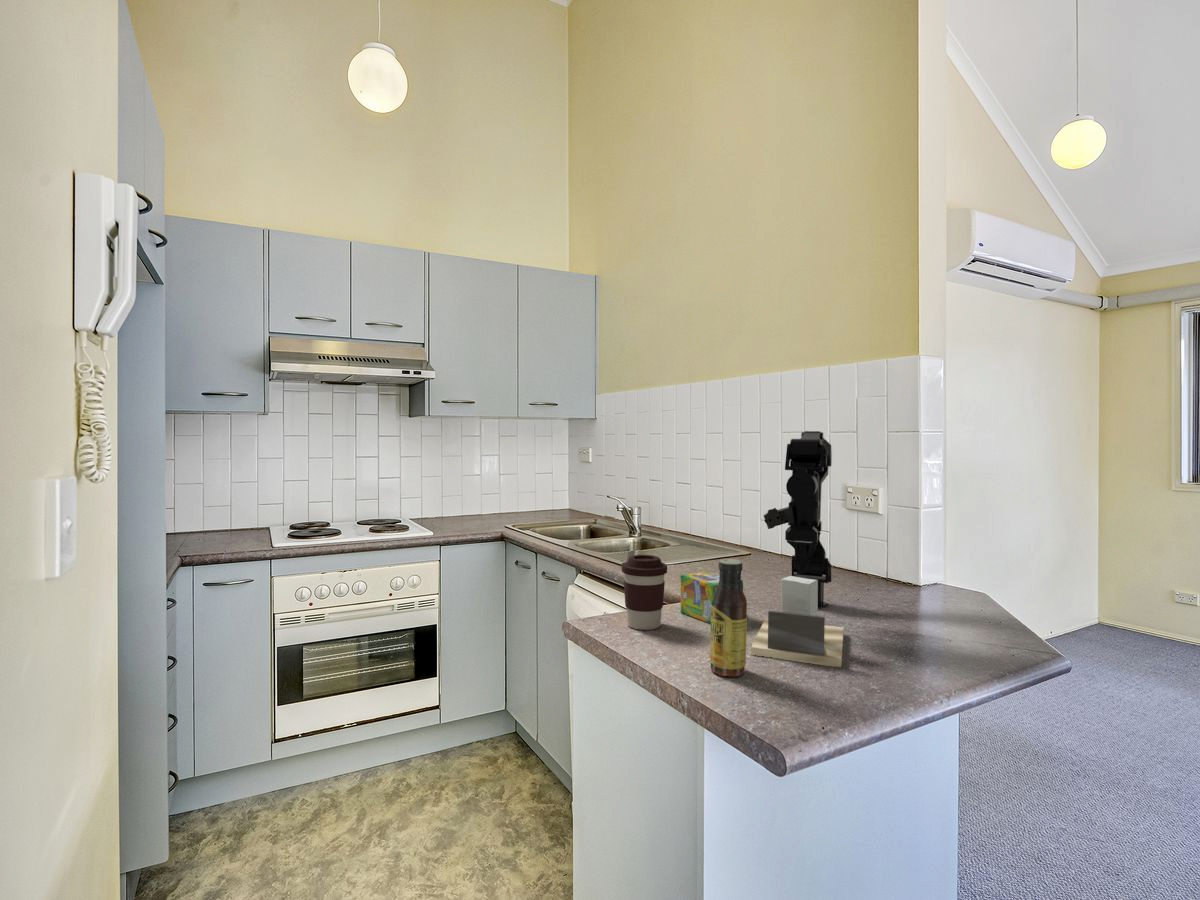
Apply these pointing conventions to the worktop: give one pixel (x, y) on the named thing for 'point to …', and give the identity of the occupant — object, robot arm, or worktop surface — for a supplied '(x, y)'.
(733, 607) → the sauce bottle
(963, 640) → the worktop surface
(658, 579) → the coffee cup
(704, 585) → the chalk box
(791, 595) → the skincare box
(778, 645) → the base with upright panel
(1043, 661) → the worktop surface
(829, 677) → the worktop surface
